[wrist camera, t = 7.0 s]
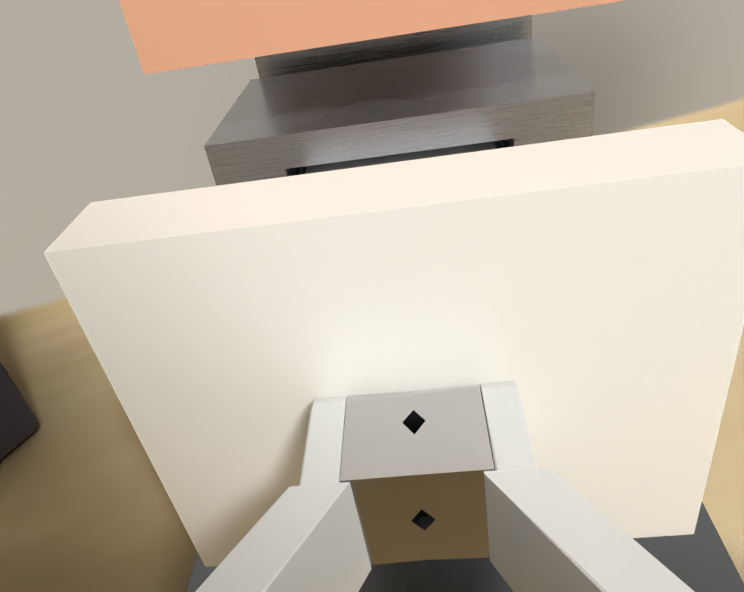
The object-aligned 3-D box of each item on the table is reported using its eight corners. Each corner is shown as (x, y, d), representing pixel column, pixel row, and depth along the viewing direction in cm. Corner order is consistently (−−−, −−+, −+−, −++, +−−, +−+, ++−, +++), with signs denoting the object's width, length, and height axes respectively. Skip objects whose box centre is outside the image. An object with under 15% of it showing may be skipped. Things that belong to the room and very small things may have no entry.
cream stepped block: (204, 566, 12) (42, 252, 8) (269, 330, 18) (196, 90, 14) (693, 534, 11) (782, 160, 7) (582, 297, 17) (596, 30, 13)
